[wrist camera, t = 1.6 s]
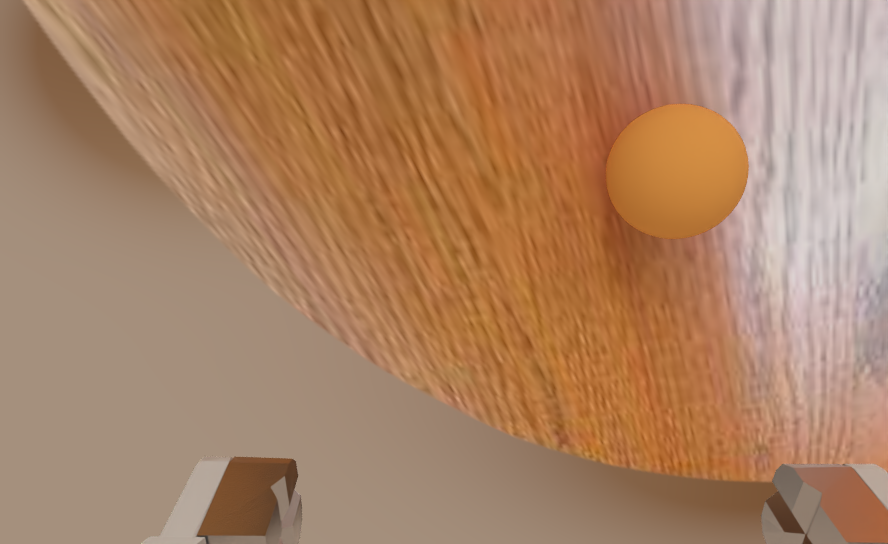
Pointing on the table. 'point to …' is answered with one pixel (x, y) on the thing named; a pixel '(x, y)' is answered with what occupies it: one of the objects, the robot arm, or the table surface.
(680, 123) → the ball
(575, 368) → the table surface
